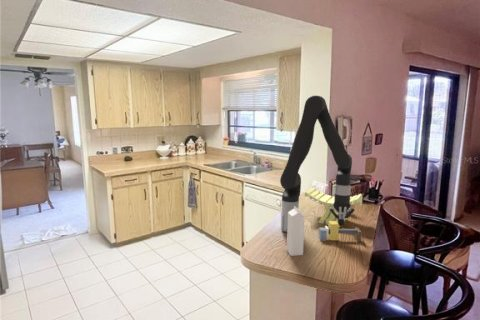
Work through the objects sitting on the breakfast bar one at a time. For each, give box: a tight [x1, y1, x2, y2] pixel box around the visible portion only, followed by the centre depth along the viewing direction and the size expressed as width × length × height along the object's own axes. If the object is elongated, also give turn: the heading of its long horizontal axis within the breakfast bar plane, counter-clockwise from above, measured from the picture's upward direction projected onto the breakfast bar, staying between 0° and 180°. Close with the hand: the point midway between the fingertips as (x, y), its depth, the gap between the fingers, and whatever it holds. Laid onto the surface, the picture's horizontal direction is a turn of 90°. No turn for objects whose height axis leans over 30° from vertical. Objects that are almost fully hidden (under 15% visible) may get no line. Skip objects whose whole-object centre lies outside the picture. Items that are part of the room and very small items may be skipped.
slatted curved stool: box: [304, 187, 363, 228], centre depth 182 cm, size 30×16×18 cm, turn 58°
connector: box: [318, 227, 327, 242], centre depth 156 cm, size 3×4×6 cm
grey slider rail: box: [329, 228, 362, 235], centre depth 155 cm, size 20×2×2 cm, turn 88°
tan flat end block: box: [353, 226, 363, 243], centre depth 155 cm, size 2×6×6 cm, turn 178°
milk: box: [286, 206, 305, 257], centre depth 139 cm, size 6×6×22 cm
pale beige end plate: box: [324, 225, 329, 237], centre depth 155 cm, size 1×4×4 cm, turn 178°
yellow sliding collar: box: [327, 221, 340, 241], centre depth 155 cm, size 4×5×8 cm
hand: (340, 225), depth 155 cm, fingers closed
